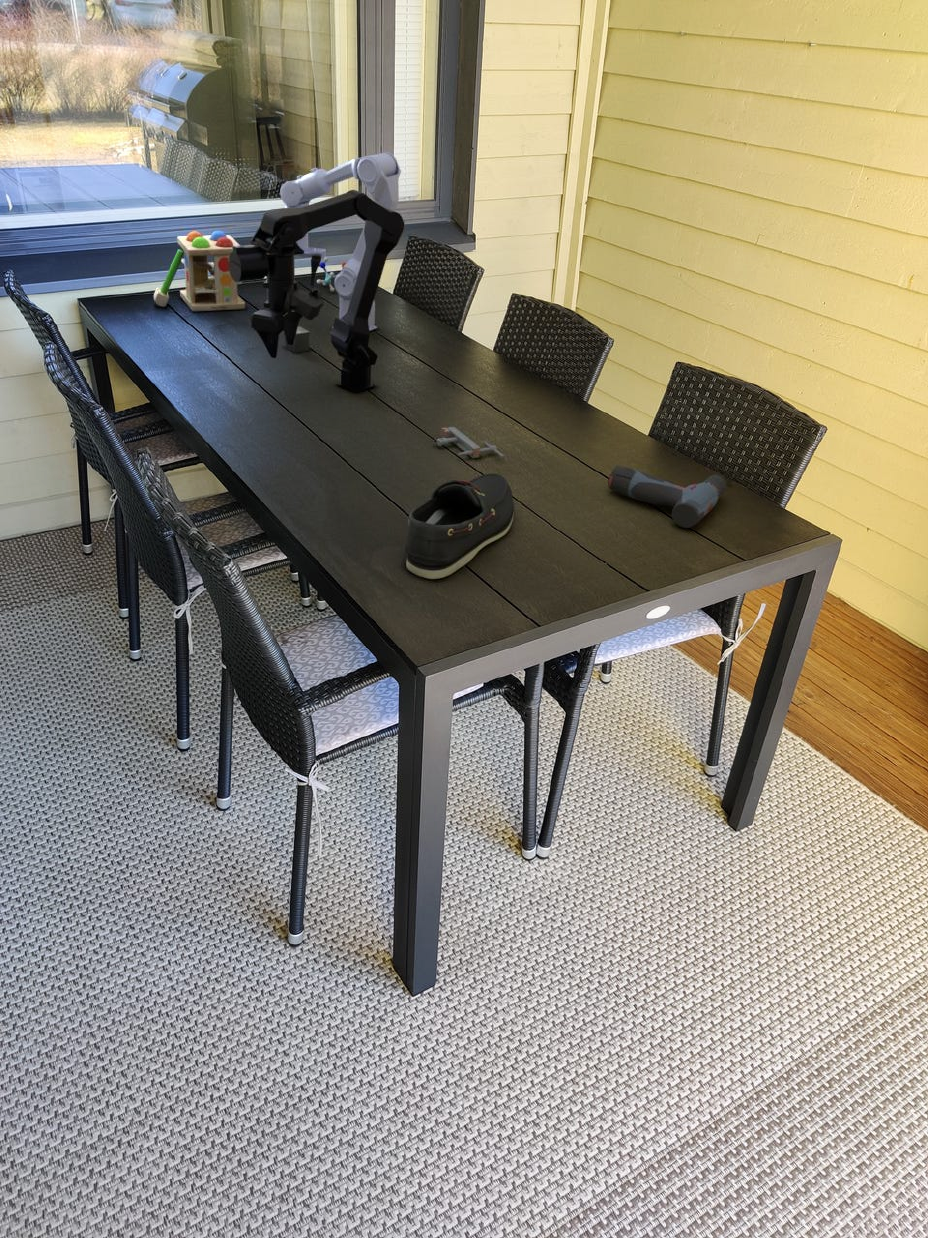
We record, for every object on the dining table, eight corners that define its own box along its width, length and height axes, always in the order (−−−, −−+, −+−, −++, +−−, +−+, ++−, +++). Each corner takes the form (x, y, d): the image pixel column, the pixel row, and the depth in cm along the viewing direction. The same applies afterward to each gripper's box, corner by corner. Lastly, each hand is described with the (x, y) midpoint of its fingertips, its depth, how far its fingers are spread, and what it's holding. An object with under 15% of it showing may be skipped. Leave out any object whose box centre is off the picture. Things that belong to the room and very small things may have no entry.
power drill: (637, 467, 202) (729, 498, 194) (598, 499, 188) (695, 533, 180) (642, 443, 199) (736, 473, 191) (602, 474, 185) (701, 507, 177)
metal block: (285, 347, 244) (285, 328, 241) (299, 344, 246) (299, 326, 243) (295, 353, 241) (294, 333, 238) (309, 350, 243) (309, 331, 241)
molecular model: (344, 283, 280) (333, 248, 279) (317, 296, 284) (305, 261, 282) (361, 286, 290) (350, 252, 289) (334, 298, 294) (323, 265, 293)
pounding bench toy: (159, 313, 256) (153, 242, 246) (148, 297, 266) (141, 228, 256) (246, 308, 265) (243, 239, 255) (232, 293, 276) (228, 226, 266)
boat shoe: (539, 516, 182) (544, 464, 176) (440, 585, 158) (443, 528, 152) (480, 497, 187) (483, 446, 182) (376, 561, 163) (376, 505, 158)
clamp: (428, 429, 204) (470, 423, 208) (427, 439, 205) (469, 432, 209) (464, 459, 193) (507, 451, 198) (463, 469, 194) (506, 461, 199)
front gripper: (300, 294, 193) (301, 371, 201) (333, 271, 208) (333, 343, 216) (247, 286, 194) (250, 362, 203) (284, 263, 209) (285, 335, 218)
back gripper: (266, 232, 248) (268, 286, 256) (324, 236, 250) (324, 290, 257) (269, 225, 254) (271, 278, 262) (325, 229, 256) (325, 282, 263)
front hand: (282, 350), depth 210 cm, fingers open, 9 cm apart
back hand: (297, 283), depth 260 cm, fingers open, 7 cm apart
